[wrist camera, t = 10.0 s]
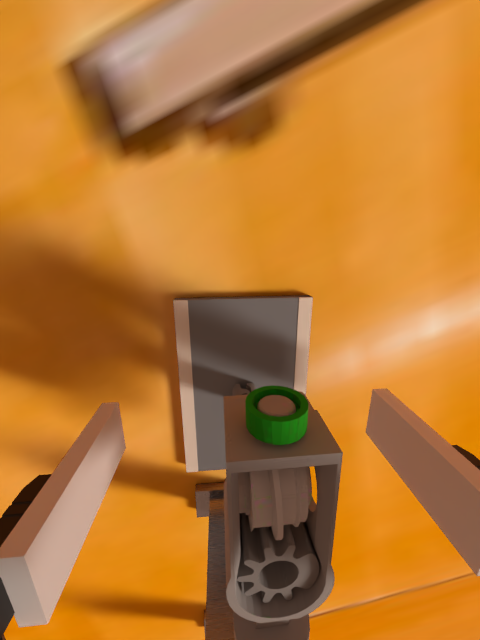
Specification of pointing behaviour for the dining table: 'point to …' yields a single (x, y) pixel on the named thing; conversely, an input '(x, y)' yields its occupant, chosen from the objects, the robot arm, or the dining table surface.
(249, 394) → the mechanical component
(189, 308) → the mat
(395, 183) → the dining table surface
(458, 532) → the robot arm
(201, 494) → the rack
